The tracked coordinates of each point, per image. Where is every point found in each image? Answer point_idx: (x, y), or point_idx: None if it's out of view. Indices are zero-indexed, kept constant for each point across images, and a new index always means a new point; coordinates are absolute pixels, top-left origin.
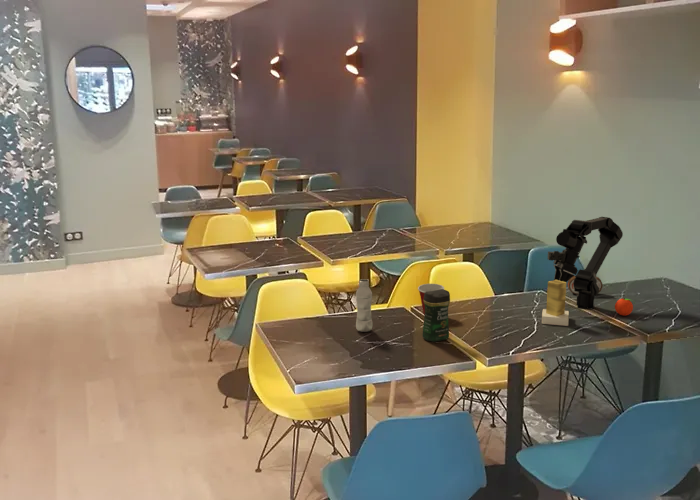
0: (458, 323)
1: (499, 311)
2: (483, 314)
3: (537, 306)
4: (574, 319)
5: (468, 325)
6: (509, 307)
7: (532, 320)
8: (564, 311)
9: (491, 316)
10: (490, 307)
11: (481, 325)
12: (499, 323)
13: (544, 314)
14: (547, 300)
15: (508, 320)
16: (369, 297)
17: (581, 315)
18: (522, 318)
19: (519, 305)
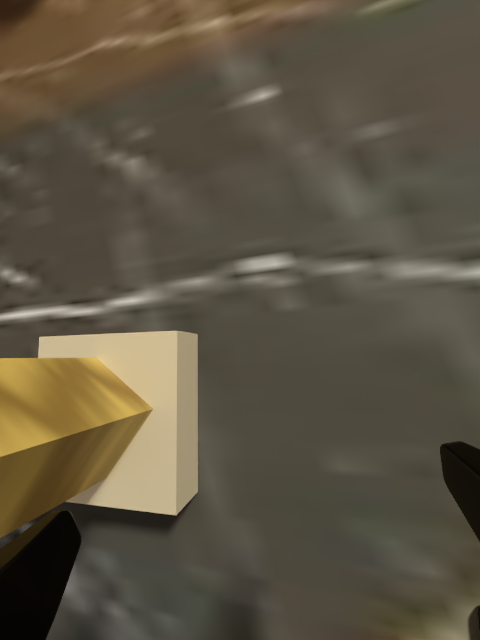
0: (17, 12)
1: (218, 96)
2: (148, 46)
3: (407, 282)
4: (182, 530)
5: (3, 54)
6: (316, 120)
7: (112, 289)
8: (91, 484)
9: (128, 90)
10: (279, 27)
11: (10, 97)
12: (44, 154)
13: (72, 348)
14: (7, 363)
15: (89, 179)
16: None
17: (280, 595)
18: (132, 235)
19: (387, 164)
